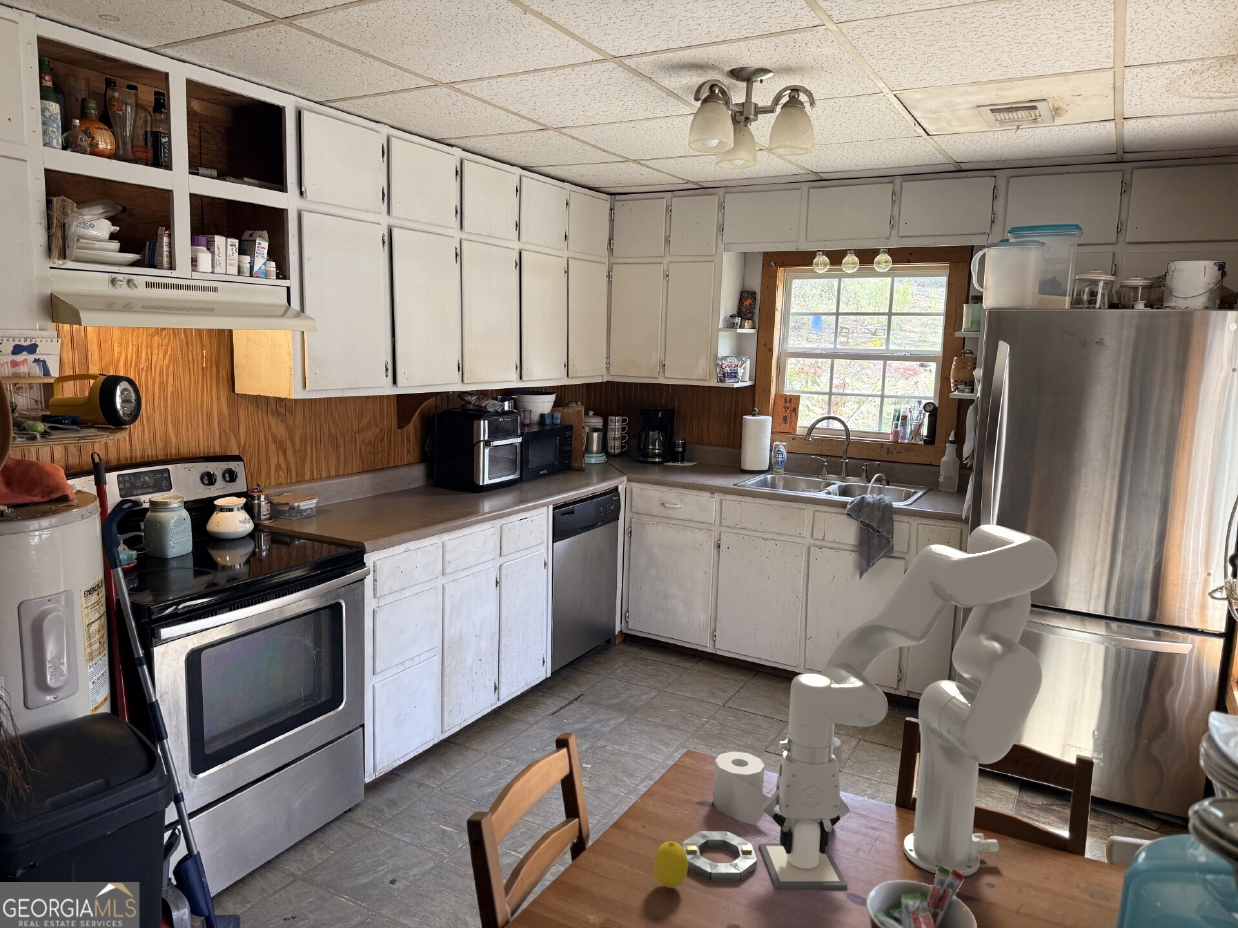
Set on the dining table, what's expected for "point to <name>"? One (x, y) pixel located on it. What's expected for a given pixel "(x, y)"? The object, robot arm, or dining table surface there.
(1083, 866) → the dining table surface
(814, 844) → the capsule
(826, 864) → the mat
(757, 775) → the toilet tissue
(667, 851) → the lemon
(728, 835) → the socket ring
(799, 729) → the robot arm
